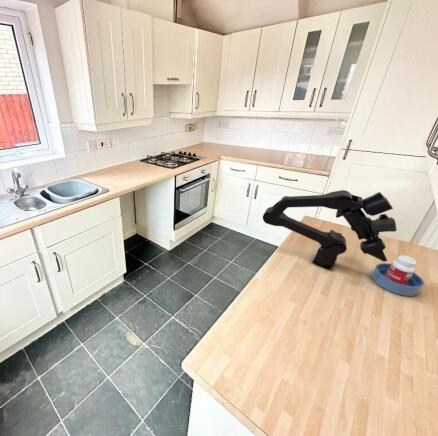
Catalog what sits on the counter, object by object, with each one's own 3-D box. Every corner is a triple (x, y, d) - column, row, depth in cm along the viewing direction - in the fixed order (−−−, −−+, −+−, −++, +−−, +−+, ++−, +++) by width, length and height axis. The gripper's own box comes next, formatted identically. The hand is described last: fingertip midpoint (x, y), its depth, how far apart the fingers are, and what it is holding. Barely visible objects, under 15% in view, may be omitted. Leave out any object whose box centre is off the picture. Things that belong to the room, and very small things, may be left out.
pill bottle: (378, 277, 94) (391, 254, 89) (392, 276, 94) (406, 253, 89) (393, 289, 89) (409, 265, 83) (409, 287, 89) (425, 264, 84)
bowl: (368, 283, 92) (373, 274, 90) (373, 267, 100) (378, 258, 98) (416, 303, 84) (423, 293, 81) (418, 283, 91) (424, 274, 89)
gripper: (390, 222, 77) (419, 261, 77) (381, 201, 91) (406, 234, 91) (350, 235, 85) (376, 271, 85) (347, 214, 99) (370, 245, 99)
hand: (383, 254), depth 90 cm, fingers open, 9 cm apart
